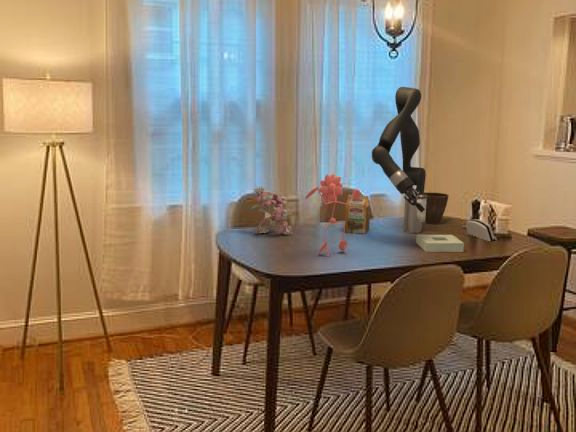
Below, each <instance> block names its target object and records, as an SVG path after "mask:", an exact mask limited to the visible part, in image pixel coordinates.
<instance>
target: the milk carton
mask: <svg viewBox="0 0 576 432" xmlns="http://www.w3.org/2000/svg"><path fill="white" fill-rule="evenodd" d="M351 197H352V194H348V196H347V200H346V204H347V203H348V202H349V200H350V198H351ZM344 217H345V218H344V226H345V231H344V234H349V233H350V235H367V234H368V232H369V231H370V223H371V221H370V220H371V202H370V199H369V195H360V197H359V198H358V199H357V200H356V199H354V198H352V199H351V201H350V202H349V204H348V205H345V215H344Z"/></svg>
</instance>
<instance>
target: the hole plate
mask: <svg viewBox="0 0 576 432" xmlns="http://www.w3.org/2000/svg"><path fill="white" fill-rule="evenodd" d="M416 244H417V245H418V246H419V247H420V248H421V249H422V250H424V252H426V253H464V247H465V243H464V242H463V241H462V240H460V239H459V238H458V237H456V236H455V235H454V234H416Z"/></svg>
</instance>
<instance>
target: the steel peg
mask: <svg viewBox="0 0 576 432" xmlns="http://www.w3.org/2000/svg"><path fill="white" fill-rule="evenodd" d="M416 196H417V198H418V199H417V200H418V201H419V203H420V204H421V205H422V206H423V208H424V209H425V210H424V211H423V212H420V211H419V210H418V208H417V207H416V221H417V222H422V223H424V222H425V223H426V221H425V219H426V199H427V195H424V194H418V195H416Z"/></svg>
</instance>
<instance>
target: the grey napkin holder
mask: <svg viewBox="0 0 576 432" xmlns="http://www.w3.org/2000/svg"><path fill="white" fill-rule="evenodd" d="M465 225H466V226H465V227H466V233H467V235H469V234H470V235H469V236H472V235H473V237H475V236H476V237H475V238H478V237H479V238H478V239H481V240H484V241H487V242H490V241H491V240H494V241H497V237H496V236H495V235H494V232H493V229H492V226H491V224H489V223H488V222H486V221H484V220H482V219H479V218H478V219H475V218H474V219H470V220H468V221H467V222H466V223H465Z"/></svg>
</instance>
